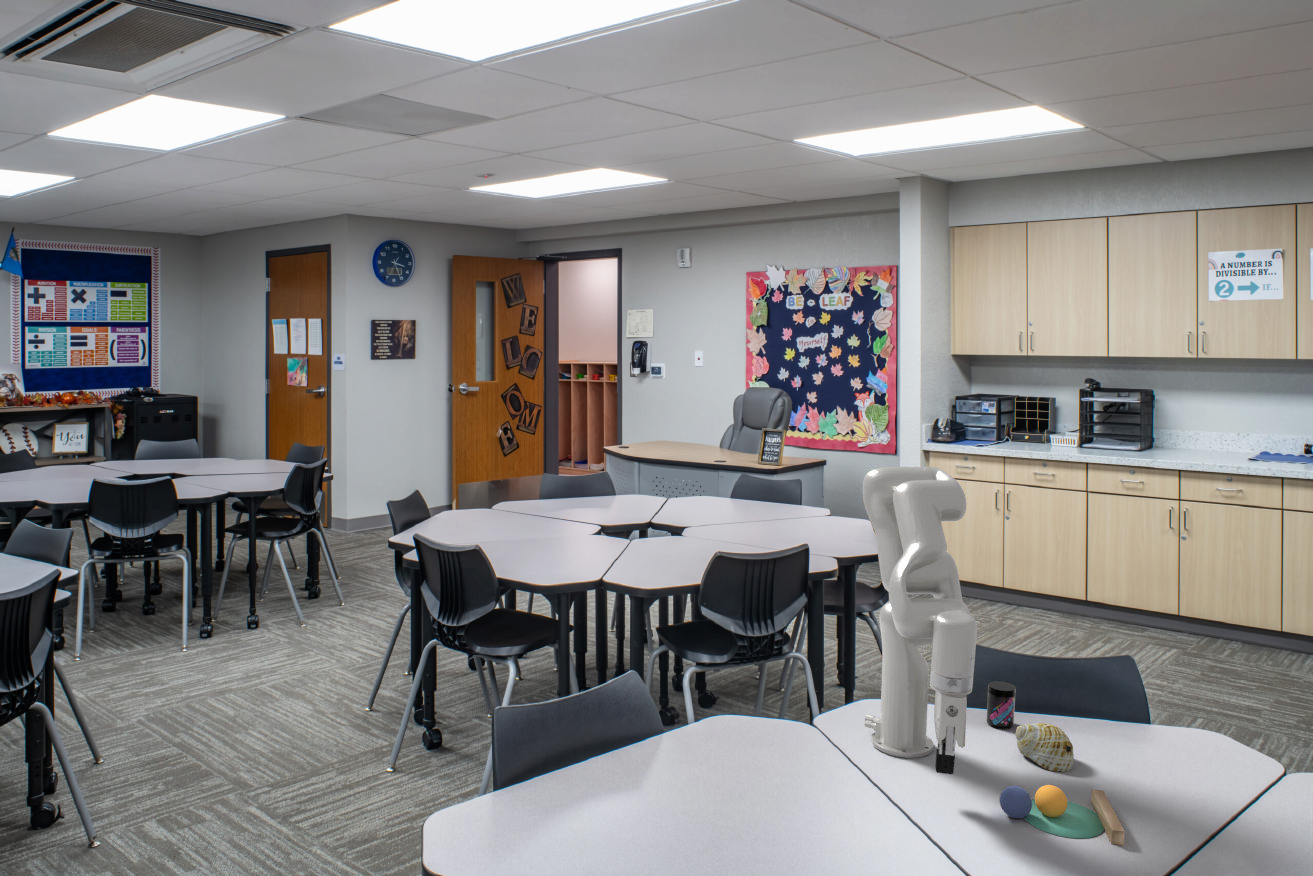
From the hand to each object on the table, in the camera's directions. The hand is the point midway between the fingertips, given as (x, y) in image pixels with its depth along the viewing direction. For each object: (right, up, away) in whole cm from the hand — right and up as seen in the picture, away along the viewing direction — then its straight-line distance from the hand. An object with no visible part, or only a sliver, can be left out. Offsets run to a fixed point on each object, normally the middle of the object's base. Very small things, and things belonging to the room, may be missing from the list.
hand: (944, 771), depth 177 cm
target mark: (+20, -7, -5) cm, 21 cm away
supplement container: (+23, -2, +36) cm, 43 cm away
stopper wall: (+27, -7, -7) cm, 29 cm away
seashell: (+26, -4, +18) cm, 32 cm away
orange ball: (+18, -4, -5) cm, 19 cm away
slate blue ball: (+11, -4, -5) cm, 13 cm away
